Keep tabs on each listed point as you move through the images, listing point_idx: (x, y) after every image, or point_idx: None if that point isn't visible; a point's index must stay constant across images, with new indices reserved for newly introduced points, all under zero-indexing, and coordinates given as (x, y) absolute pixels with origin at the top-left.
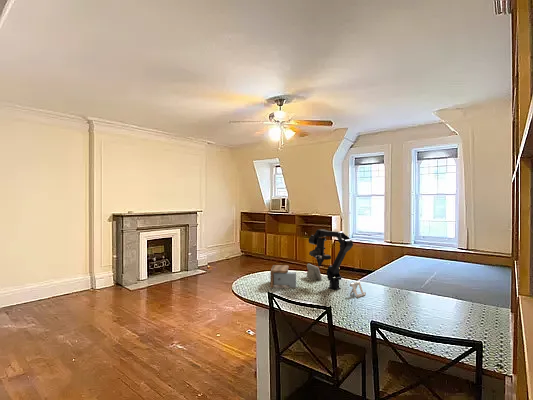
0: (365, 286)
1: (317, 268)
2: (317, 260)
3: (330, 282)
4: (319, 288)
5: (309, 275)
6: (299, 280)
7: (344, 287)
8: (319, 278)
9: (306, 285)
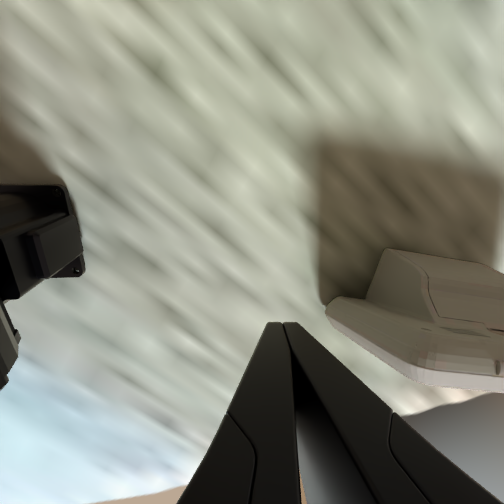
0: (9, 461)
1: (407, 355)
2: (421, 489)
3: (16, 223)
4: (89, 81)
5: (460, 268)
6: (472, 112)
7: (34, 330)
8: (337, 302)
9: (273, 25)
